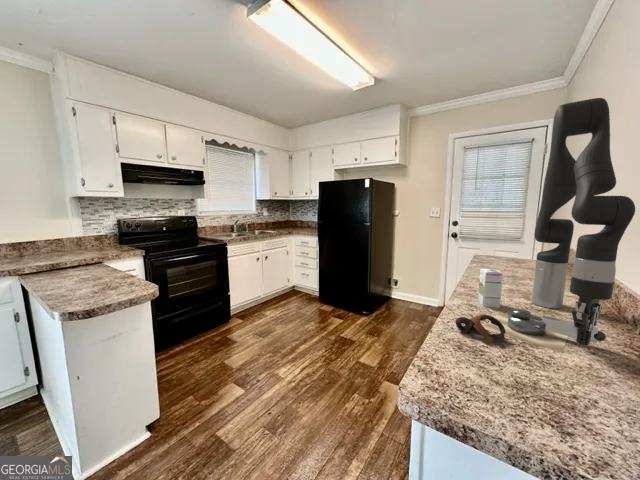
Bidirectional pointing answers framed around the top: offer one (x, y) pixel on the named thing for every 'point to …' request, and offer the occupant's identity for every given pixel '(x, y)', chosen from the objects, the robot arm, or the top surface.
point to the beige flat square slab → (547, 340)
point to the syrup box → (490, 288)
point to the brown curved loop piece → (481, 327)
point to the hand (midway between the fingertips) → (582, 343)
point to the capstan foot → (546, 325)
